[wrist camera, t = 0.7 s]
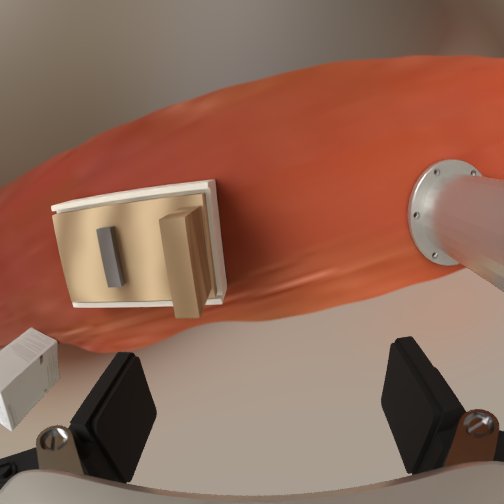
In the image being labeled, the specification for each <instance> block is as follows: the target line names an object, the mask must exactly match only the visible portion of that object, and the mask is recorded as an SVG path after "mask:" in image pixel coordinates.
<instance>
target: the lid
mask: <svg viewBox="0 0 504 504" xmlns="http://www.w3.org/2000/svg"><path fill="white" fill-rule="evenodd" d="M52 217H53V223H54V228H55V234H56V239H57V244H58V249H59V253H60V258H61V262H62V267H63V271H64V275H65V279H66V283H67V287H68V290H69V294H70V298H71V301H72V302H118V301H158V300H172V302H173V307H174V312H175V317H176V318H200V316H201V313H202V311H203V309H204V306H205V304H206V301H207V299H208V298H215V297H216V294H217V285H216V277H215V270H214V262H213V254H212V246H211V238H210V230H209V221H208V212H207V203H206V194H205V192H204V193H195V194H186V195H178V196H169V197H161V198H153V199H146V200H138V201H131V202H124V203H117V204H111V205H104V206H98V207H91V208H85V209H79V210H74V211H68V212H62V213H58V214H55V215H52Z"/></svg>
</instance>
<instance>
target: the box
mask: <svg viewBox="0 0 504 504" xmlns="http://www.w3.org/2000/svg"><path fill="white" fill-rule="evenodd" d="M204 192H205V194H206V203H207V212H208V221H209V230H210V238H211V246H212V254H213V262H214V270H215V277H216V285H217V294H216V297H215V298H208V299H207V301H206V304H205V305H214V304H223V300H224V297H225V293H226V290H227V280H226V272H225V264H224V255H223V247H222V238H221V229H220V220H219V211H218V201H217V192H216V182H215V179H213V180H203V181H195V182H186V183H178V184H170V185H163V186H155V187H148V188H141V189H135V190H128V191H122V192H116V193H110V194H104V195H98V196H92V197H87V198H81V199H76V200H71V201H67V202H64V203H60V204H56V205H53V206H51V208H52V211H56V210H57V214H58V213H62V212H68V211H74V210H79V209H85V208H91V207H98V206H104V205H111V204H117V203H124V202H131V201H138V200H146V199H153V198H161V197H169V196H178V195H186V194H195V193H204ZM73 306H74V307H160V306H173V302H172V300H158V301H118V302H73Z"/></svg>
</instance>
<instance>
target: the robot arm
mask: <svg viewBox="0 0 504 504" xmlns="http://www.w3.org/2000/svg"><path fill="white" fill-rule="evenodd" d="M434 170H435V173H434ZM414 213H415V216H414ZM408 226H409V230H410V234H411V237H412V239H413V242H414V244H415V246H416V247H417V248H418V250H419V251H420V252H421V253H422V254H423V255H424V256H425V257H426V258H428V259H429V260H430V261H432V262H434V263H437V264H439V265H444V266H452V265H457V264H460V263H461V264H462V265H464V266H465V267H467V268H468V269H470V270H472V271H474V272H475V273H476V274H478V275H479V276H481V277H482V278H484V279H486V280H487V281H489V282H490V283H491V284H493V285H494V286H496V287H497V288H499V289H501V290H502V291H504V180H500V179H494V178H487V177H483V176H482V174H481V173H480V172H479V171H478V170H477V169H476V168H475V167H473V166H472V165H471V164H469V163H467V162H464V161H461V160H455V159H447V160H442V161H439V162H437V163H434V164H432V165H431V166H430V167H428V168H427V169H426V170H425V171H424V172H423V173H422V174H421V176H420V177H419V178H418V180H417V182H416V183H415V185H414V187H413V190H412V193H411V195H410V199H409V204H408ZM432 254H433V255H432ZM381 405H382V408H383V411H384V413H385V416H386V418H387V421H388V423H389V426H390V429H391V431H392V434H393V436H394V439H395V442H396V444H397V447H398V450H399V452H400V455H401V458H402V460H403V463H404V466H405V469H406V471H407V473H408V474H410V473H412V475H411V476H407V477H403V478H399V479H394V480H390V481H385V482H380V483H375V484H370V485H364V486H359V487H353V488H347V489H340V490H332V491H325V492H315V493H304V494H290V495H270V496H232V495H211V494H197V493H186V492H177V491H168V490H161V489H154V488H148V487H142V486H136V485H131V484H126V483H127V482H130V481H131V480H132V477H133V475H134V472H135V470H136V467H137V464H138V462H139V459H140V457H141V454H142V452H143V449H144V447H145V444H146V441H147V439H148V436H149V434H150V431H151V429H152V426H153V423H154V421H155V419H156V415H157V411H156V407H155V404H154V401H153V399H152V396H151V393H150V390H149V387H148V384H147V381H146V378H145V375H144V371H143V368H142V365H141V362H140V359H139V357H136V356H135V354H134V353H131V352H118V353H117V354H116V356H115V357H114V359H113V360H112V361H111V363H110V364H109V366H108V367H107V368H106V370H105V371H104V373H103V374H102V376H101V377H100V379H99V380H98V381H97V383H96V384H95V386H94V387H93V389H92V390H91V392H90V393H89V395H88V396H87V397H86V399H85V400H84V402H83V403H82V405H81V406H80V408H79V409H78V411H77V412H76V414H75V415H74V417H73V418H72V420H71V421H70V423H71V425H70V426H69V428H67V427H65V426H61V425H55V426H50V427H48V428H46V429H44V430H43V431H42V432H41V433H40V434H39V435H38V437H37V439H36V448H32V449H30V450H27V451H24V452H21V453H18V454H14V455H11V456H8V457H5V458H2V459H0V504H504V431H500V430H499V422H498V420H497V418H496V417H495V416H494V415H493V414H492V413H490V412H489V411H485V410H482V409H475V410H470V411H468V412H466V411H465V409H464V408H463V406H462V405H461V403H460V402H459V400H458V398H457V397H456V395H455V394H454V393H453V391H452V390H451V388H450V387H449V385H448V384H447V382H446V381H445V379H444V378H443V376H442V375H441V374H440V372H439V371H438V369H437V368H435V367H434V366H433V365H432V364H431V362H430V361H429V359H428V358H427V356H426V355H425V354H424V352H423V351H422V349H421V348H420V347H419V345H418V344H417V343H416V341H415V340H414V338H413V337H411V336H409V337H403V338H397V339H396V340H395V343H392V344H391V346H390V352H389V360H388V365H387V371H386V377H385V382H384V387H383V392H382V398H381Z"/></svg>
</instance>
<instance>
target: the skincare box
mask: <svg viewBox="0 0 504 504" xmlns="http://www.w3.org/2000/svg"><path fill="white" fill-rule="evenodd" d="M59 379H60V373H59V366H58V342H57V341H56V340H55V339H53V338H51V337H49V336H47V335H45V334H43V333H41V332H39V331H37V330H35V329H33V328H30V329H29V330H27V331H26V332H25V333H23V334H22V335H21V336H19V337H18V338H17V339H15V340H14V341H13V342H11V343H10V344H9V345H7V346H6V347H5V348H4V349H2V350H1V351H0V423H1V424H2V425H4V426H5V427H6V428H8V429H9V430H11V431H13V430H14V429H15V427H16V426H17V425H18V424H19V423H20V422H21V421H22V419H23V418H24V417H25V416H26V415H27V414H28V413H29V412H30V411H31V409H32V408H33V407H34V406H35V405H36V404H37V403H38V402H39V401H40V399H42V397H43V396H44V395H45V394H46V393H47V392H48V391H49V390H50V389H51V388H52V386H53V385H54V384H55V383H56V382H57V381H58V380H59Z"/></svg>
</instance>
